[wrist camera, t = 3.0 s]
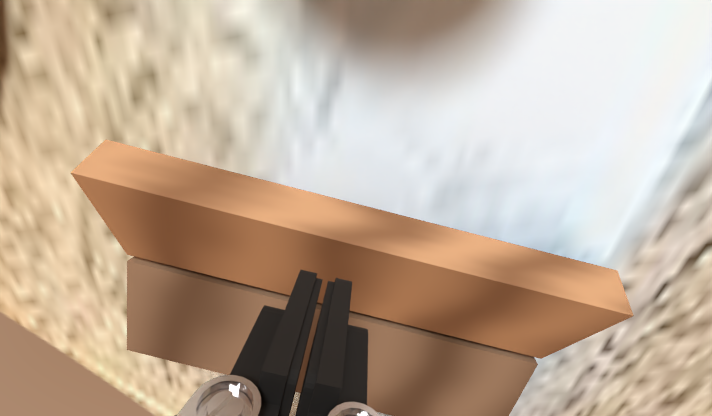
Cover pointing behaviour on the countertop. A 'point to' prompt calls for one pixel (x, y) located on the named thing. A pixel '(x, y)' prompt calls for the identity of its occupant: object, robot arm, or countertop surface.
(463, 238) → the chestnut plank
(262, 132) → the countertop surface
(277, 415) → the robot arm
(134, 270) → the walnut board
